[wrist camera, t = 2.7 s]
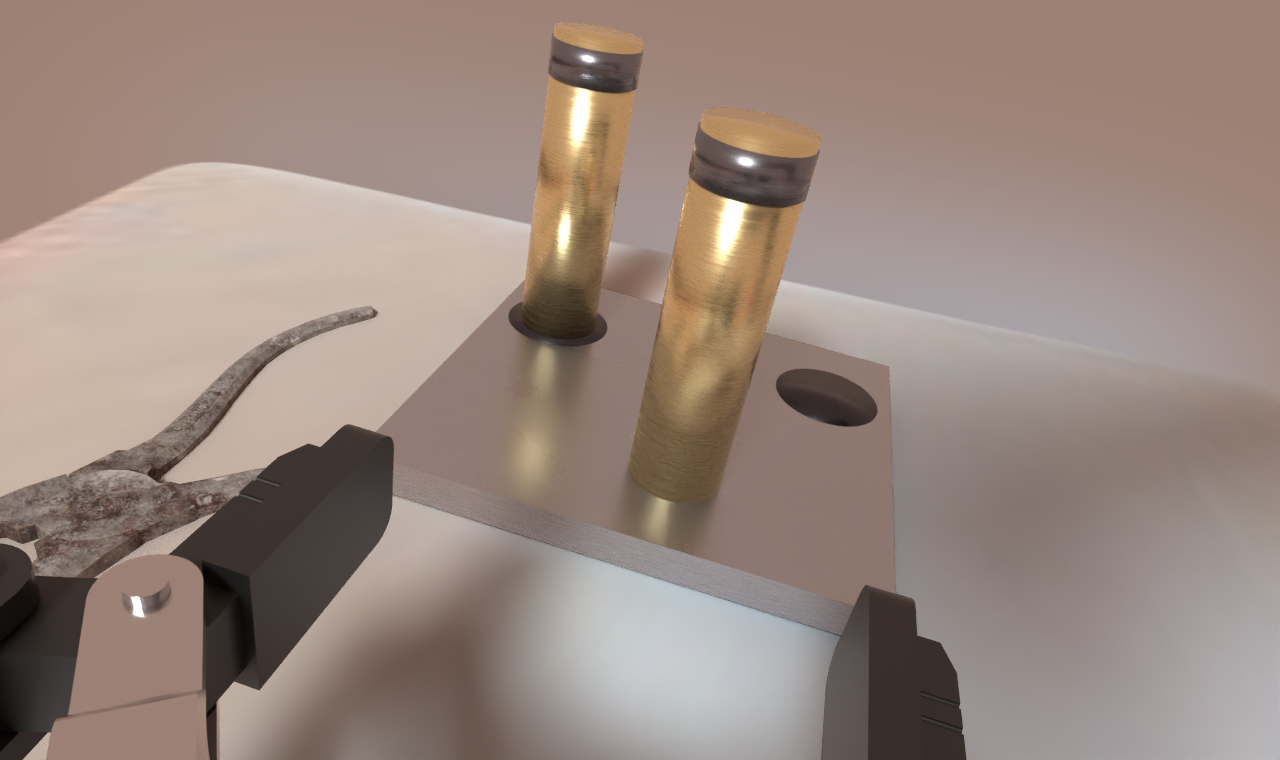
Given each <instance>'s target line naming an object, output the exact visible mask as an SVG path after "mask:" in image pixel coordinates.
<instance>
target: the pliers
mask: <svg viewBox="0 0 1280 760" xmlns="http://www.w3.org/2000/svg"><path fill="white" fill-rule="evenodd" d="M374 316H375V310H374V309H373V308H372V307H371V306H366V307H361V308H355V309H350V310H346V311H342V312H338V313H334V314H331V315H328V316H325V317H321V318H318V319H315V320H312V321H309V322H307V323H304V324H302V325H299V326H297V327H294V328H292V329H289V330H287V331H285V332H283V333H281V334H279V335H277V336H275V337H273V338H270V339H268V340H267V341H265V342H263V343H262V344H260V345H259V346H257V347H255V348H254V349H252V350H251V351H249V352H248V353H246V354H245V355H244V356H243V357H241V358H240V359H239V360H238V361H237V362H235V363H234V364H233V365H232V366H231V367H229V368H228V369H227V370H226V371H225V372H224V373H223V374H222V375H221V376H220V377H219V378H218V379H217V380H216V381H215V382H214V383H213V384H212V385H211V386H210V387H209V388H208V389H207V390H206V391H205V392H204V393H203V394H202V395H201V396H200V397H199V398H198V399H197V400H196V401H195V402H194V403H193V404H192V405H191V406H190V407H189V408H188V409H187V410H186V411H185V412H184V413H182V414H181V415H180V416H179V417H178V418H177V419H176V420H175V421H174V422H172V423H171V424H170V425H169V426H168V427H167V428H165V429H164V430H163V431H161V432H160V433H159V434H158V435H156V436H155V437H154V438H152V439H151V440H149V441H146V442H144V443H142V444H140V445H138V446H136V447H134V448H132V449H130V450H128V451H125V450H117V451H115V452H113V453H111V454H109V455H107V456H105V457H103V458H101V459H99V460H96V461H94V462H92V463H90V464H88V465H86V466H84V467H82V468H80V469H78V470H76V471H74V472H72V473H70V474H69V476H68V477H67V475H66V474H65V475H61V476H58V477H55V478H52V479H49V480H46V481H43V482H39V483H36V484H33V485H30V486H27V487H24V488H21V489H19V490H17V491H14V492H12V493H9V494H7V495H4V496H2V497H0V538H9V539H12V540H14V541H16V542H19V543H21V544H24V543H27V542H30V541H33V540H36V539H40V540H39V541H37V542H35V543H34V545H35V549H36V553H37V556H38V557H37V559H36V560H35V561H34V562H33V563H32V566H33V570H34V574H35V576H55V577H75V578H94V577H95V576H97V575H98V574H100V573H101V572H103V571H104V570H106V569H107V568H109V567H110V566H112V565H113V564H115V563H116V562H118V561H119V560H121V559H122V558H124V557H125V556H127V555H128V554H130V553H131V552H133V551H134V550H136V549H137V548H139V547H140V546H141V544H143V543H145V542H148V541H150V540H152V539H154V538H157V537H159V536H161V535H164V534H166V533H168V532H170V531H173V530H175V529H177V528H179V527H182V526H184V525H186V524H189V523H191V522H193V521H195V520H197V519H199V518H201V517H204V516H206V515H209V514H212V513H215V512H217V511H218V510H220V509H221V508H222V507H223V506H224V505H225V504H226V503H227V502H228V501H230V500H231V499H232V498H233V497H234V496H238V495H239V492H240V491H241V490H242V489H243V488H244V487H245V486H246V485H248V484H249V483H250V482H251V481H252V480H254V481H255V480H256V478H257V476H258V475H259V474H260V473H261V472H262V471H263V470H264V469H265V468H262V469H255V470H250V471H245V472H241V473H236V474H231V475H226V476H221V477H216V478H210V479H205V480H200V481H194V482H189V483H183V484H177V483H173V482H166V483H158V482H156V481H155V480H156V479H158V478H160V477H161V476H162V475H163V474H165V473H166V472H167V471H168V470H169V469H171V468H172V467H173V466H174V465H175V464H177V463H178V462H179V461H180V460H182V459H183V458H184V457H185V456H186V455H187V454H188V453H189V452H190V451H191V450H193V449H194V448H195V447H196V446H197V445H198V444H199V443H200V442H201V441H202V440H203V439H204V438H205V437H206V436H207V435H208V433H209V432H210V431H211V430H212V429H213V427H214V426H215V425H216V424H217V423H218V421H219V420H220V419H221V417H222V416H223V415H224V413H225V412H226V410H227V409H228V408H229V406H230V405H231V404H232V403H233V401H234V400H235V399H236V398H237V396H238V395H239V394H240V393H241V391H242V390H243V389H244V388H245V387H246V385H247V384H248V383H249V382H250V381H251V379H252V378H253V377H254V376H255V375H256V374H257V373H258V372H259V371H260V370H261V369H262V368H263V367H264V366H265V365H266V364H268V363H269V362H270V361H272V360H273V359H274V358H276V357H277V356H278V355H280V354H281V353H283V352H285V351H286V350H288V349H290V348H292V347H294V346H295V345H297V344H299V343H301V342H303V341H306V340H308V339H310V338H312V337H314V336H317V335H319V334H321V333H324V332H327V331H330V330H333V329H336V328H339V327H342V326H346V325H350V324H353V323H357V322H361V321H364V320H368V319H371V318H374ZM38 537H39V538H38Z"/></svg>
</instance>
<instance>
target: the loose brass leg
mask: <svg viewBox="0 0 1280 760" xmlns="http://www.w3.org/2000/svg"><path fill="white" fill-rule="evenodd" d="M820 142H821V137H820V136H819V134H818V133H816V132H815V131H813V130H812V129H810V128H808V127H806V126H804V125H802V124H799V123H797V122H794V121H791V120H789V119H786V118H782V117H779V116H775V115H771V114H768V113H763V112H758V111H753V110H747V109H739V108H726V107H725V108H724V107H720V108H711V109H707V110H705V111H704V112H703V115H702V120H701V122H700V123H699V125H698V129H697V134H696V138H695V143H694V148H693V153H692V158H691V162H690V167H689V181H688V186H687V190H686V195H685V200H684V204H683V209H682V214H681V219H680V223H679V228H678V233H677V238H676V242H675V247H674V251H673V256H672V261H671V265H670V270H669V275H668V279H667V284H666V289H665V294H664V298H663V303H662V308H661V312H660V317H659V322H658V326H657V331H656V336H655V340H654V345H653V350H652V355H651V359H650V364H649V369H648V373H647V378H646V383H645V387H644V392H643V397H642V402H641V406H640V411H639V416H638V420H637V425H636V430H635V434H634V439H633V444H632V449H631V453H630V458H629V463H628V468H629V472H630V475H631V477H632V478H633V480H634V481H635V482H636V483H637V485H638V486H640V487H641V488H642V489H643V490H645V491H646V492H648V493H650V494H651V495H653V496H656V497H658V498H660V499H663V500H667V501H671V502H676V503H697V502H701V501H704V500H707V499H709V498H711V497H712V496H714V495H715V494H716V493H717V492H718V490H719V489H720V486H721V483H722V479H723V476H724V473H725V469H726V466H727V462H728V459H729V455H730V452H731V448H732V445H733V442H734V438H735V435H736V431H737V428H738V424H739V421H740V417H741V414H742V410H743V407H744V404H745V400H746V397H747V393H748V390H749V386H750V383H751V379H752V376H753V373H754V369H755V366H756V362H757V359H758V355H759V352H760V348H761V345H762V342H763V338H764V335H765V331H766V328H767V324H768V321H769V317H770V314H771V311H772V307H773V304H774V300H775V297H776V293H777V290H778V286H779V283H780V280H781V276H782V273H783V269H784V266H785V262H786V259H787V255H788V252H789V248H790V245H791V242H792V238H793V235H794V231H795V228H796V224H797V221H798V217H799V214H800V210H801V207H802V203H803V202H804V201H805V200H806V197H807V194H808V190H809V187H810V183H811V180H812V176H813V173H814V170H815V166H816V163H817V159H818V156H819V152H820V151H819V145H820Z"/></svg>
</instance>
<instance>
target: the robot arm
mask: <svg viewBox="0 0 1280 760" xmlns="http://www.w3.org/2000/svg"><path fill="white" fill-rule="evenodd" d="M393 463H394V443H393V440H392V438H391V437H389V436H386V435H383V434H380V433H377V432H373V431H370V430H367V429H363V428H360V427H357V426H354V425H350V424H348V425H345V426H343V427H342V428H341V429H339V430H338V431H337V432H336V433H335V434H334V435H333V436H332V437H331V438H330V439H329V440H328V441H327V442H326V443H325V444H324V445H322V446H321V447H318V446H315V445H311V444H306V445H304V446H302V447H300V448H297V449H295V450H293V451H291V452H288V453H286V454H284V455H282V456H279V457H278V458H277V459H276V460H274V461H273V462H272V463H271V464H270V465H269V466H268V467H267V468H265V469H264V470H263V471H262V472H261V473H260V474H259V475H258V476H257V478H256V480H255V481H254V480H252V481H251V482H250V483H249V484H248V485H246V486H245V487H244V488H243V489H242V490H241V491H240V492H239V495H238V496H234V497H233V498H232V499H231V500H230V501H228V502H227V503H226V504H225V505H224V506H223V507H222V508H221V509H220V510H218V511H217V512H216V513H215V514H214V515H213V516H212V517H211V518H209V519H208V520H207V521H206V522H205V523H204V524H203V525H202V526H200V527H199V528H198V529H197V530H196V531H195V532H194V533H193V534H191V535H190V536H189V537H188V538H187V539H186V540H185V541H184V542H183V543H181V544H180V545H179V546H178V547H177V548H176V549H175V550H174V551H172V552H171V553H170V554H169V555H160V554H158V555H148V556H142V557H138V558H134V559H131V560H128V561H126V562H123V563H121V564H119V565H117V566H115V567H113V568H111V569H110V570H108V571H107V572H105V573H104V574H103V575H102V576H101V577H99V578H75V577H55V576H35V574H34V570H33V566H32V562H31V560H30V558H29V556H28V555H27V554H26V553H25V552H24V551H22V550H21V549H19V548H17V547H14V546H11V545H6V544H0V760H23V759H24V757H25V756H26V755H27V754H28V753H29V752H30V751H31V750H32V749H33V748H34V747H35V746H36V745H37V744H38V742H39V741H40V740H41V739H42V738H43V737H44V736H45V735H46V734H47V733H48V732H51V735H50V741H49V746H48V752H47V758H46V760H220V718H219V701H218V699H219V698H220V697H221V696H222V695H223V694H224V692H225V691H226V690H227V689H228V688H229V687H230V685H231V684H232V683H233V682H237V683H240V684H243V685H246V686H249V687H251V688H254V689H257V690H260V689H261V688H262V687H263V685H264V684H265V683H266V682H267V680H268V679H269V678H270V677H271V675H272V674H273V673H274V672H275V670H276V669H277V668H278V667H279V665H280V664H281V663H282V662H283V660H284V659H285V658H286V657H287V655H288V654H289V653H290V652H291V650H292V649H293V648H294V647H295V645H296V644H297V643H298V642H299V640H300V639H301V638H302V637H303V636H304V634H305V633H306V632H307V631H308V629H309V628H310V627H311V626H312V624H313V623H314V622H315V621H316V619H317V618H318V617H319V616H320V614H321V613H322V612H323V611H324V609H325V608H326V607H327V606H328V604H329V603H330V602H331V601H332V599H333V598H334V597H335V596H336V594H337V593H338V592H339V591H340V589H341V588H342V587H343V586H344V585H345V583H346V582H347V581H348V580H349V578H350V577H351V576H352V575H353V573H354V572H355V571H356V570H357V568H358V567H359V566H360V565H361V563H362V562H363V561H364V560H365V558H366V557H367V556H368V555H369V553H370V552H371V551H372V550H373V548H374V547H375V546H376V545H377V543H378V542H379V541H380V539H381V537H382V536H383V534H384V532H385V530H386V527H387V525H388V522H389V519H390V515H391V510H392V494H393ZM959 705H960V697H959V688H958V679H957V673H956V671H955V669H954V667H953V665H952V663H951V662H950V660H949V658H948V656H947V654H946V652H945V650H944V649H943V647H942V645H941V643H939V642H936V641H933V640H930V639H927V638H923V637H920V636H917V624H916V608H915V602H914V600H913V599H911V598H908V597H905V596H901V595H898V594H895V593H892V592H888V591H885V590H882V589H879V588H875V587H872V586H869V585H865V586H864V587H863V589H862V590H861V592H860V594H859V597H858V599H857V601H856V603H855V606H854V608H853V610H852V612H851V615H850V617H849V619H848V622H847V624H846V626H845V628H844V631H843V633H842V635H841V637H840V640H839V642H838V644H837V647H836V649H835V651H834V654H833V657H832V660H831V664H830V668H829V672H828V677H827V683H826V693H825V708H824V724H823V739H822V755H821V760H966V752H965V743H964V735H963V734H962V729H963V725H962V716H961V709H959Z"/></svg>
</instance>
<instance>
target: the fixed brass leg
mask: <svg viewBox="0 0 1280 760" xmlns="http://www.w3.org/2000/svg"><path fill="white" fill-rule="evenodd" d="M642 47H643V40H642V39H641V38H639V37H637V36H635V35H632V34H630V33H627V32H624V31H620V30H617V29H612V28H608V27H603V26H598V25H592V24H585V23H573V22H563V23H557V24H555V28H554V33H553V34H552V41H551V49H550V59H549V67H548V73H549V80H548V88H547V97H546V105H545V115H544V123H543V131H542V140H541V149H540V157H539V166H538V174H537V183H536V192H535V201H534V209H533V218H532V226H531V235H530V244H529V252H528V261H527V269H526V278H525V287H524V295H523V304H522V313H521V320H522V322H523V324H524V325H525V326H526V327H527V328H528V329H530V330H531V331H533V332H535V333H537V334H540V335H542V336H545V337H549V338H554V339H564V340H571V339H579V338H583V337H586V336H588V335H590V334H591V333H592V332H593V331H594V329H595V325H596V319H597V313H598V307H599V301H600V296H601V290H602V284H603V278H604V272H605V266H606V260H607V254H608V248H609V242H610V236H611V230H612V225H613V218H614V213H615V207H616V201H617V195H618V189H619V183H620V177H621V171H622V165H623V159H624V154H625V148H626V142H627V136H628V130H629V124H630V118H631V112H632V106H633V100H634V94H635V90H636V89H637V85H638V79H639V74H640V67H641V62H642V56H643V50H642Z"/></svg>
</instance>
